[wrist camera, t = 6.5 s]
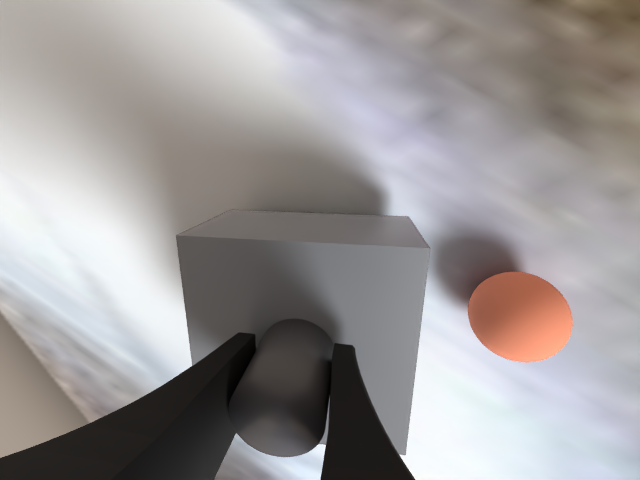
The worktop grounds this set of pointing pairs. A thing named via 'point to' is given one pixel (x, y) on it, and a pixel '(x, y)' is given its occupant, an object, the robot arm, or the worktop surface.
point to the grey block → (307, 315)
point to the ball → (520, 316)
